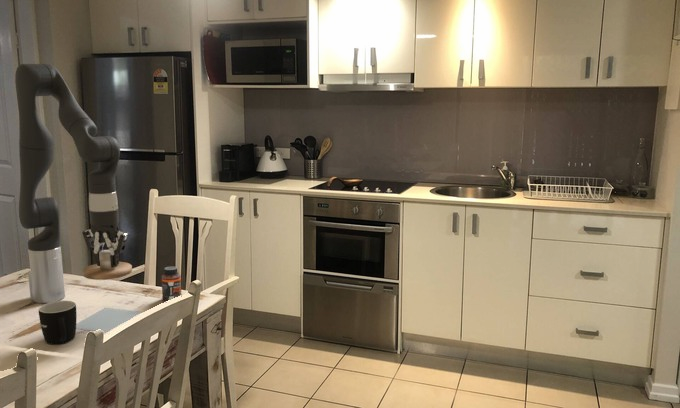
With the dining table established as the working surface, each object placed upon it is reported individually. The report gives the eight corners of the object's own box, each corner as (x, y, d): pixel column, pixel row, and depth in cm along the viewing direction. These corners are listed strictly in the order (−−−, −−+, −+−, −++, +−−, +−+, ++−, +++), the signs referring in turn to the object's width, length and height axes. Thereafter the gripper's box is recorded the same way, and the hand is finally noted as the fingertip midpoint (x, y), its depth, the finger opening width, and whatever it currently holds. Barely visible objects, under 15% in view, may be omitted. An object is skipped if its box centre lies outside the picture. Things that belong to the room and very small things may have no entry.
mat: (69, 330, 160) (69, 327, 160) (105, 310, 175) (105, 307, 175) (118, 336, 156) (118, 333, 156) (151, 315, 171) (151, 312, 171)
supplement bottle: (176, 305, 179) (174, 271, 177) (159, 304, 180) (157, 270, 178) (185, 299, 185) (183, 265, 183) (168, 297, 186) (166, 264, 184)
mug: (39, 339, 154) (36, 304, 152) (75, 332, 159) (72, 298, 157) (45, 356, 144) (42, 319, 142) (83, 348, 149) (80, 311, 147)
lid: (73, 277, 158) (71, 256, 157) (102, 263, 170) (101, 244, 169) (114, 281, 155) (112, 260, 154) (141, 267, 167) (139, 247, 166)
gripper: (72, 208, 157) (77, 267, 160) (117, 212, 154) (121, 272, 157) (90, 203, 164) (94, 260, 167) (133, 206, 161) (137, 264, 164)
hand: (107, 265), depth 162 cm, fingers closed on lid, 4 cm apart
